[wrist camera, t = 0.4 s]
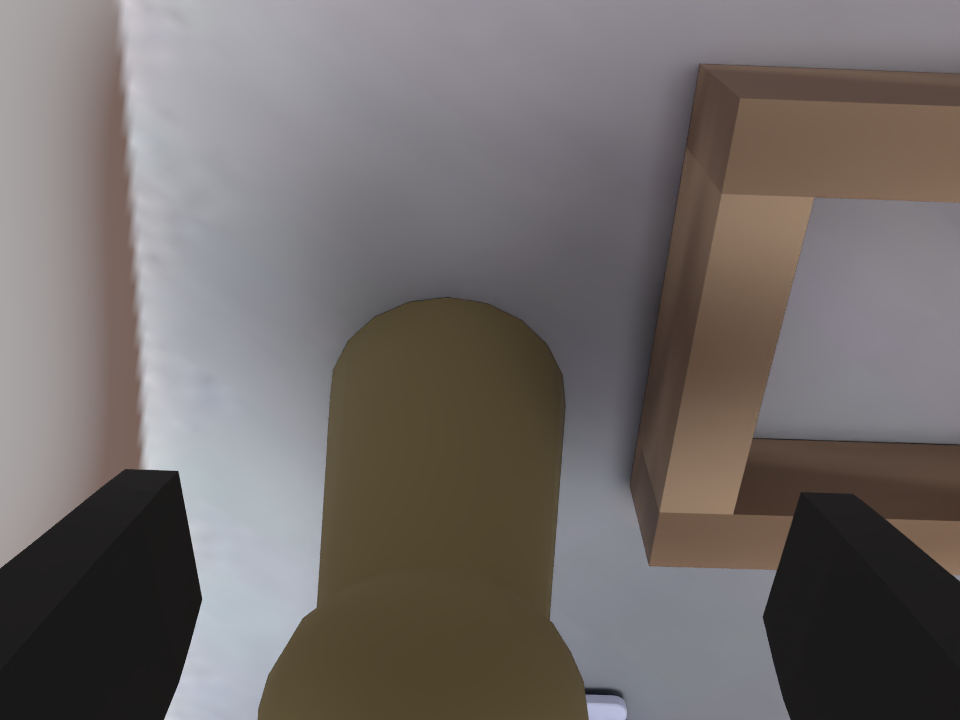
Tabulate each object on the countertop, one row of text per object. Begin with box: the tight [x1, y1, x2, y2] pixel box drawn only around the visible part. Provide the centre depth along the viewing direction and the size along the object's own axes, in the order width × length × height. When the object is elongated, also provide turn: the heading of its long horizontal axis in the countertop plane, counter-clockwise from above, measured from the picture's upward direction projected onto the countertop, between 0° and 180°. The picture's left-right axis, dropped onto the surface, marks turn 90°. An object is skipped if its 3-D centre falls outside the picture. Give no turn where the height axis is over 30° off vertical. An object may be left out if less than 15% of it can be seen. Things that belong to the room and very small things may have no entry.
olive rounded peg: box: [258, 297, 589, 720], centre depth 16 cm, size 6×6×11 cm
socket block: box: [630, 64, 960, 575], centre depth 18 cm, size 11×11×3 cm
